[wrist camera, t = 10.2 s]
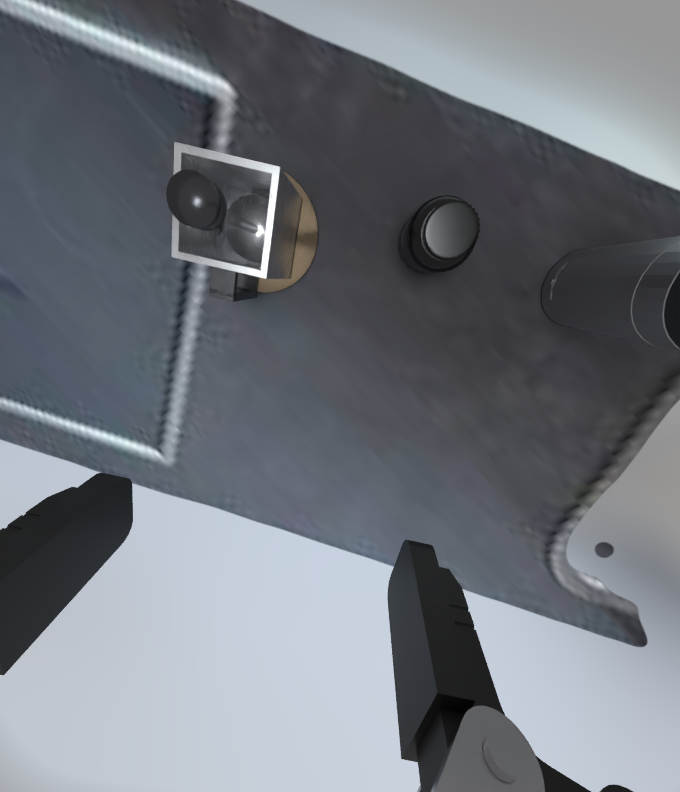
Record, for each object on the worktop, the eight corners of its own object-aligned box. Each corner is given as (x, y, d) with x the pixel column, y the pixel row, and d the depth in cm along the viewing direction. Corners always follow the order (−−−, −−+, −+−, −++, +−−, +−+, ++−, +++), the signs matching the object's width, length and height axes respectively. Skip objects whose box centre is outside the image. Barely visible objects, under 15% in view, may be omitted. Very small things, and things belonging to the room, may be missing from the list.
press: (328, 181, 37) (314, 138, 26) (306, 306, 42) (287, 315, 31) (210, 153, 37) (144, 97, 25) (203, 282, 42) (145, 283, 31)
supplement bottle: (390, 224, 38) (403, 201, 27) (447, 202, 37) (485, 168, 26) (406, 281, 40) (423, 282, 29) (459, 262, 39) (500, 255, 28)
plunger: (289, 204, 36) (242, 154, 22) (280, 267, 38) (233, 260, 24) (230, 190, 36) (144, 131, 22) (225, 254, 38) (144, 239, 24)
